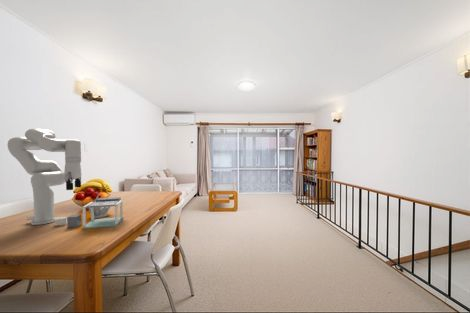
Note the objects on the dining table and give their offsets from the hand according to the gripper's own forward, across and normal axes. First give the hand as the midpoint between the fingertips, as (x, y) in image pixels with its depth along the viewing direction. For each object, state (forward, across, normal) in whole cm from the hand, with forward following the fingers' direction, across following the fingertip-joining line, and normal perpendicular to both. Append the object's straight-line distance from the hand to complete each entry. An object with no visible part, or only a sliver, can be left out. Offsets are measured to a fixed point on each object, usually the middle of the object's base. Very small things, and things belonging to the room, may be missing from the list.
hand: (74, 188), depth 123 cm
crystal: (+23, -18, +8) cm, 30 cm away
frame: (+23, 0, +16) cm, 28 cm away
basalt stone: (+23, 0, 0) cm, 23 cm away
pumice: (+23, -5, -9) cm, 25 cm away
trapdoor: (+13, -3, +16) cm, 21 cm away
